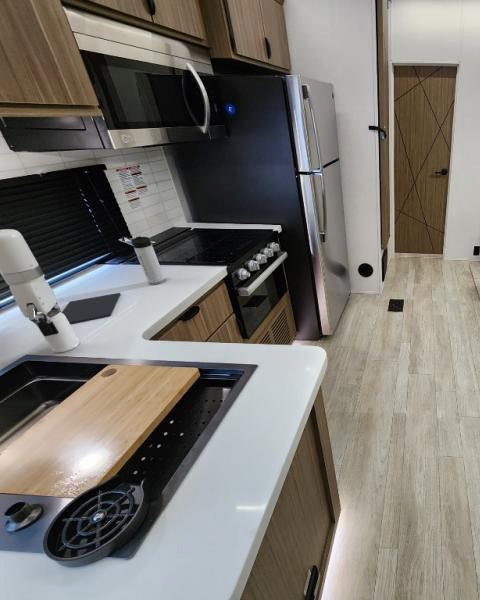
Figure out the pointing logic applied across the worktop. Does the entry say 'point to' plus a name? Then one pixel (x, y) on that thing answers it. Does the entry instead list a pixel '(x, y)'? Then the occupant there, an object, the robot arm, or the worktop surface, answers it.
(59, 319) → the can
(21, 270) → the robot arm
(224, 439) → the worktop surface
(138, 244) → the travel mug
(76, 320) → the mat
